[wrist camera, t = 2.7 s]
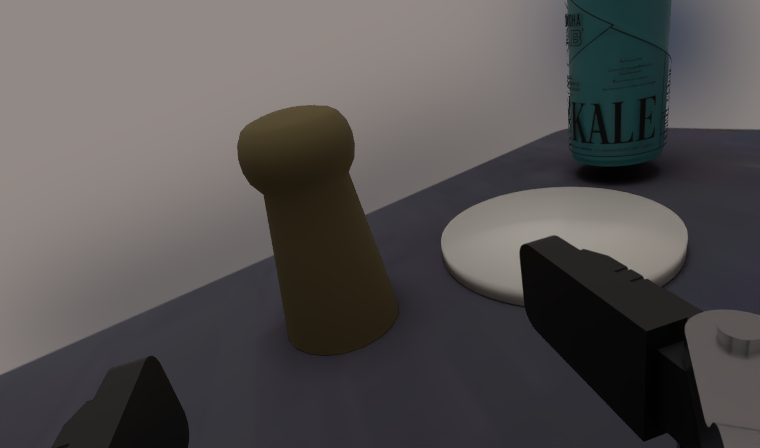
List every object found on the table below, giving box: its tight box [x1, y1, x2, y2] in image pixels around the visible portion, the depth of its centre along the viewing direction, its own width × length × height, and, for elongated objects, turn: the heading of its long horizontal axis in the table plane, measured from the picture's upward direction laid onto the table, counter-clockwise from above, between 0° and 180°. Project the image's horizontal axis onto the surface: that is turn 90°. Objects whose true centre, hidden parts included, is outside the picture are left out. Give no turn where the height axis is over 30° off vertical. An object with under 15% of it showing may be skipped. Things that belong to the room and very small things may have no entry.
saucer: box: [441, 187, 688, 306], centre depth 26 cm, size 13×13×1 cm
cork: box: [237, 105, 398, 356], centre depth 22 cm, size 6×6×11 cm
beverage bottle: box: [565, 0, 671, 166], centre depth 31 cm, size 6×7×20 cm
